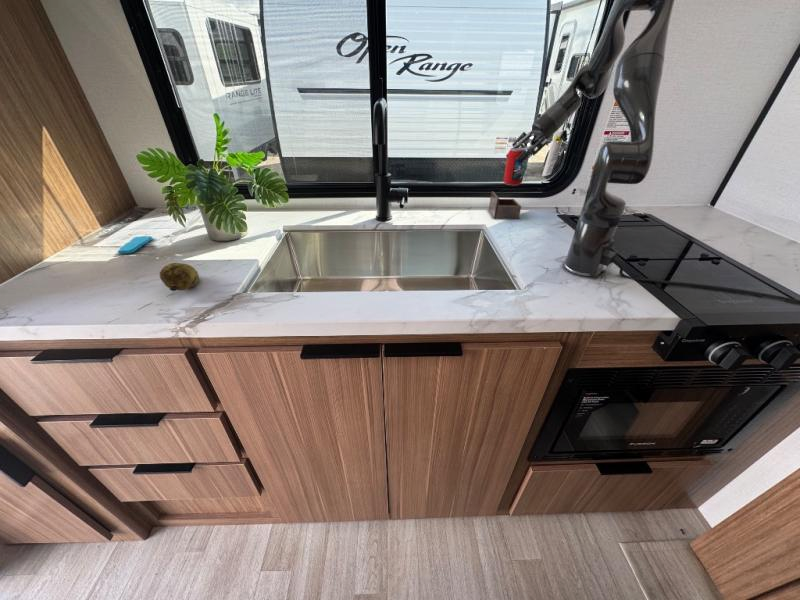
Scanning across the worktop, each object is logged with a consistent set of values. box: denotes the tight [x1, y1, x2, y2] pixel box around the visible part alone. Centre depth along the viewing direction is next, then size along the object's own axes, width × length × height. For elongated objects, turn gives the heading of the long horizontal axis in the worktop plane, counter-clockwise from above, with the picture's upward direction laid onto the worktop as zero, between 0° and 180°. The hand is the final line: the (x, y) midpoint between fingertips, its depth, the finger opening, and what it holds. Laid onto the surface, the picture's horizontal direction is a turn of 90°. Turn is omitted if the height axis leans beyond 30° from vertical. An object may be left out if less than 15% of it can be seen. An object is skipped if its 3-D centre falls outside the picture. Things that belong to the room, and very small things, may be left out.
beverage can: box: [502, 147, 528, 186], centre depth 117 cm, size 7×7×12 cm
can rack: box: [488, 191, 522, 220], centre depth 129 cm, size 10×10×8 cm
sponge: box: [117, 235, 153, 255], centre depth 105 cm, size 2×12×6 cm
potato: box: [159, 262, 200, 292], centre depth 82 cm, size 8×13×8 cm, turn 6°
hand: (512, 159), depth 115 cm, fingers closed on beverage can, 7 cm apart
